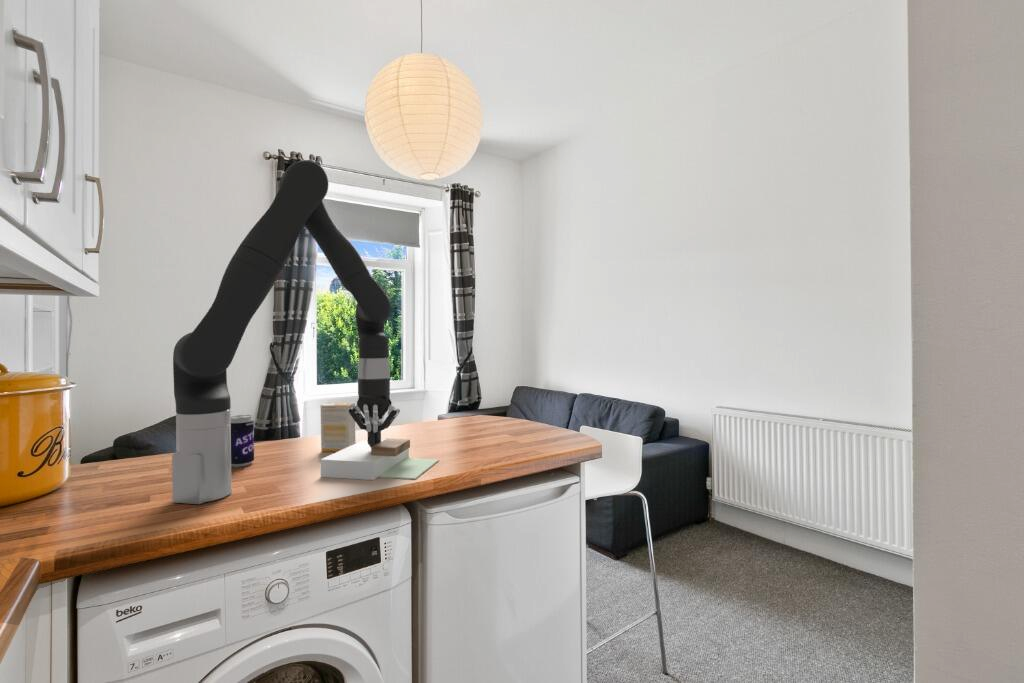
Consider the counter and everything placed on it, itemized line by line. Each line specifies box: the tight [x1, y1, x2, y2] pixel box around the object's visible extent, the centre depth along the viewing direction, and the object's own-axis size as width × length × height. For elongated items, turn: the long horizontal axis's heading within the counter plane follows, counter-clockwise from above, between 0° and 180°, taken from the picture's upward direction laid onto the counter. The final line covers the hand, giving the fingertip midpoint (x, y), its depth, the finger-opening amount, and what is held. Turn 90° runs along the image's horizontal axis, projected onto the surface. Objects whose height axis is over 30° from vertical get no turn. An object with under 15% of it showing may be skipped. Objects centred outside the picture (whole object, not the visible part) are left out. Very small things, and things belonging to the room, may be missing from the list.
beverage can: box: [231, 414, 255, 468], centre depth 120 cm, size 6×6×12 cm
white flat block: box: [320, 439, 410, 481], centre depth 118 cm, size 20×13×4 cm, turn 170°
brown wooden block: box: [371, 438, 411, 456], centre depth 117 cm, size 9×6×2 cm, turn 170°
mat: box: [378, 457, 440, 480], centre depth 117 cm, size 16×9×1 cm, turn 170°
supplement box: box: [320, 402, 357, 452], centre depth 135 cm, size 8×5×13 cm, turn 84°
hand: (374, 446), depth 118 cm, fingers closed
